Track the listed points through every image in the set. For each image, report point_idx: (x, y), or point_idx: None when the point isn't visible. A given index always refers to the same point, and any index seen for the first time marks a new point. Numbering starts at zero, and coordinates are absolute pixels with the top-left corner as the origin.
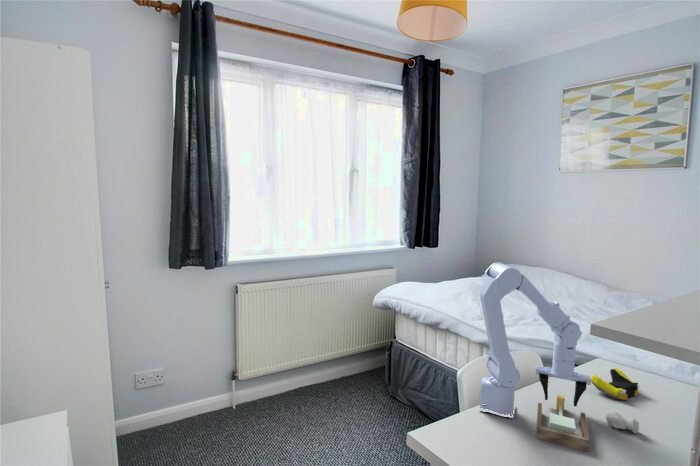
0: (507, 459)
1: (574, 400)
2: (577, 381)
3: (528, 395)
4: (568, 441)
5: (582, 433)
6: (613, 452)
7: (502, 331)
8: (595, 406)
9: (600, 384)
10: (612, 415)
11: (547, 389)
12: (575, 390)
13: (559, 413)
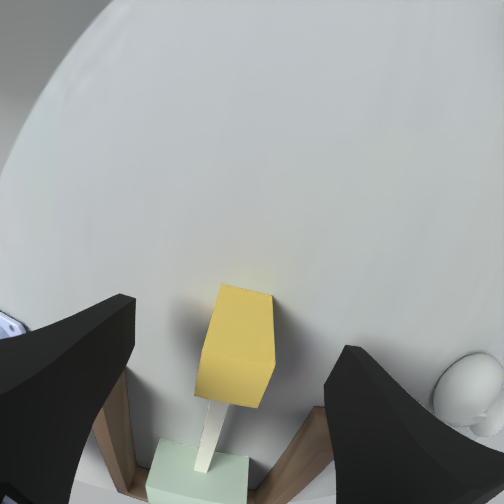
0: (92, 484)
1: (336, 411)
2: None
3: (59, 162)
4: None
5: (272, 479)
6: (335, 485)
7: None
8: (488, 213)
9: None
10: (463, 416)
11: (89, 429)
12: (376, 455)
13: (203, 432)
